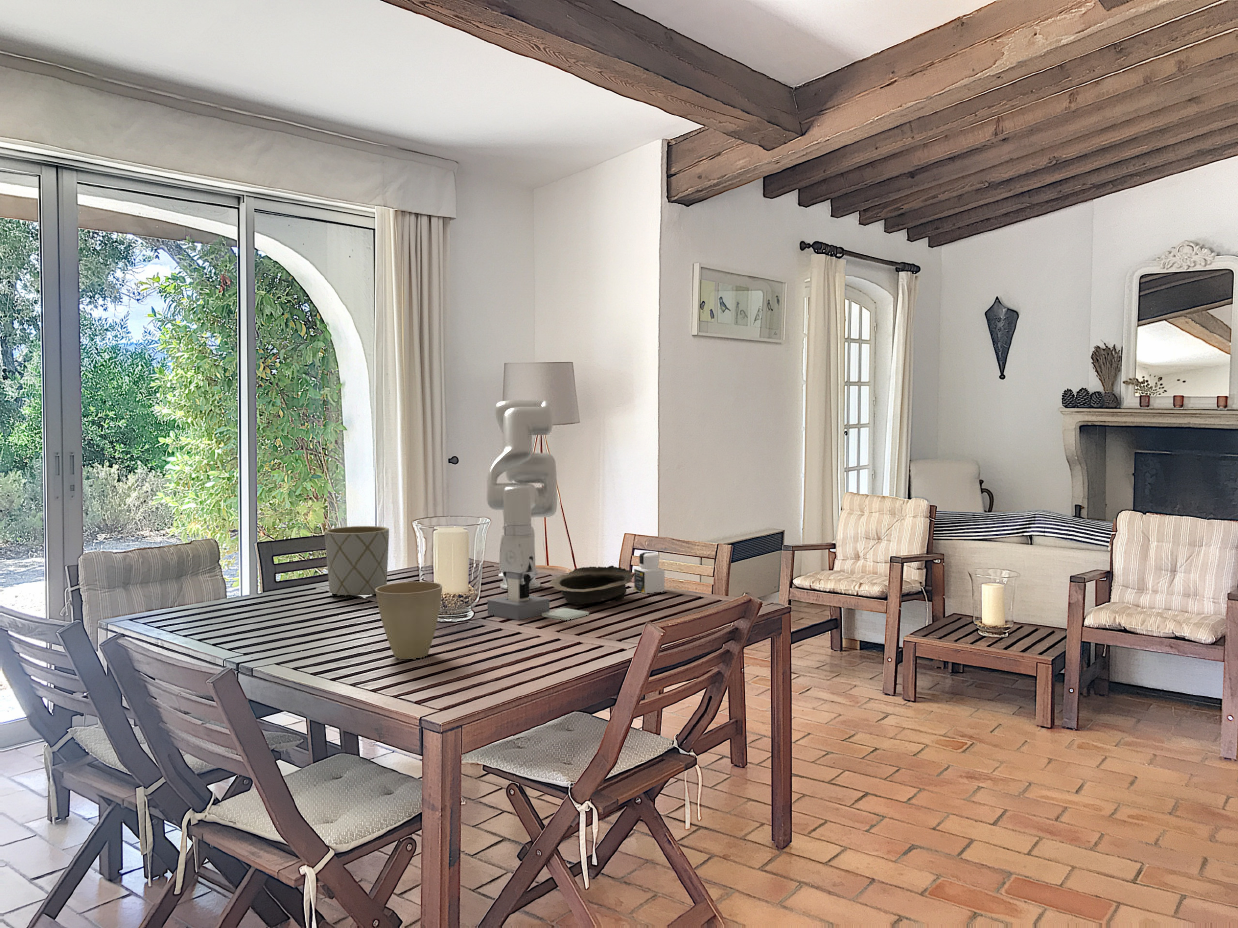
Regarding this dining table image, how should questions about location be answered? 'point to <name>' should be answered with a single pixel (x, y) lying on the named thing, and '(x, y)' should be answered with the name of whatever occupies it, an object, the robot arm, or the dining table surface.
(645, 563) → the medicine bottle
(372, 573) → the planter
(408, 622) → the plant pot
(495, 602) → the grey square ring
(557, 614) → the coaster
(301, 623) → the dining table surface
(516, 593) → the plug
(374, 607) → the dining table surface
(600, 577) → the stone bowl
